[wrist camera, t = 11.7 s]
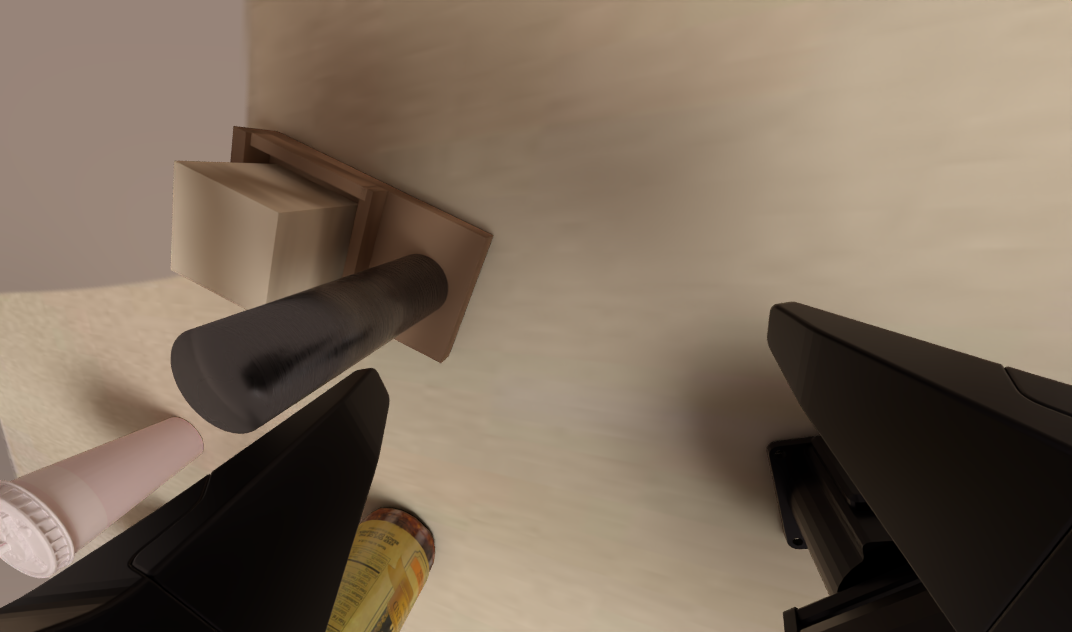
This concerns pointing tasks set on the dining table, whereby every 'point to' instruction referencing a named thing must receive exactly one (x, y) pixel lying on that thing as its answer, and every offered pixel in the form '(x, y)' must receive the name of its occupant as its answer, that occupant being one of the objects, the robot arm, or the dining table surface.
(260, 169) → the birch block
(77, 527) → the smoothie
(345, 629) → the sauce bottle
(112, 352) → the dining table surface
